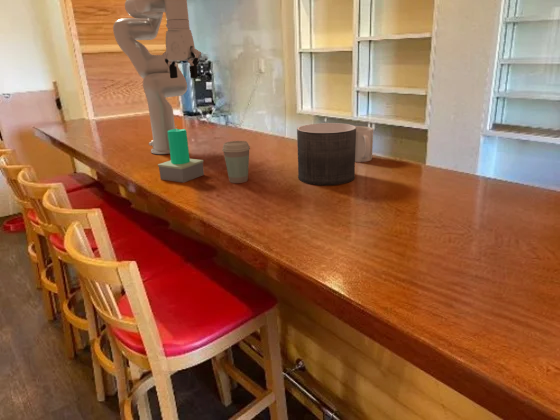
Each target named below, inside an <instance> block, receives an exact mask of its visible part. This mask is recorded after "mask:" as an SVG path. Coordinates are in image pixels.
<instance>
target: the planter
mask: <svg viewBox="0 0 560 420" xmlns="http://www.w3.org/2000/svg"><path fill="white" fill-rule="evenodd" d="M356 127H357V126H356V125H353V124H349V123H341V122H340V123H338V122H337V123H336V122H325V123H324V122H322V123H321V122H320V123H308V124H304V125H300V126H298V127H297V128H296V133H297V134H296V135H297V136H296V141H297V143H296V145H297V170H298V171H297V173H298V175H297V178H298V180H299V181H301V182H303V183H304V184H308V185H315V186H336V185H343V184H347V183H350V182H352V181H354V179H355V178H356V177H355V176H356V174H355V172H356V170H355V169H356V162H355V148H356Z"/></svg>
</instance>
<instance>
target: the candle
mask: <svg viewBox="0 0 560 420" xmlns="http://www.w3.org/2000/svg"><path fill="white" fill-rule="evenodd" d="M177 127H178V125H175V129H172V130H168V132H167V133H168V141H169V149H170V154H169V155H170V160H171V163H172V164H185V163H188V162H190V159H191V158H190V151H189V150H190V149H189V142H188V132H187V130H186V129H185V128H182V129H180V128H177Z"/></svg>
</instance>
